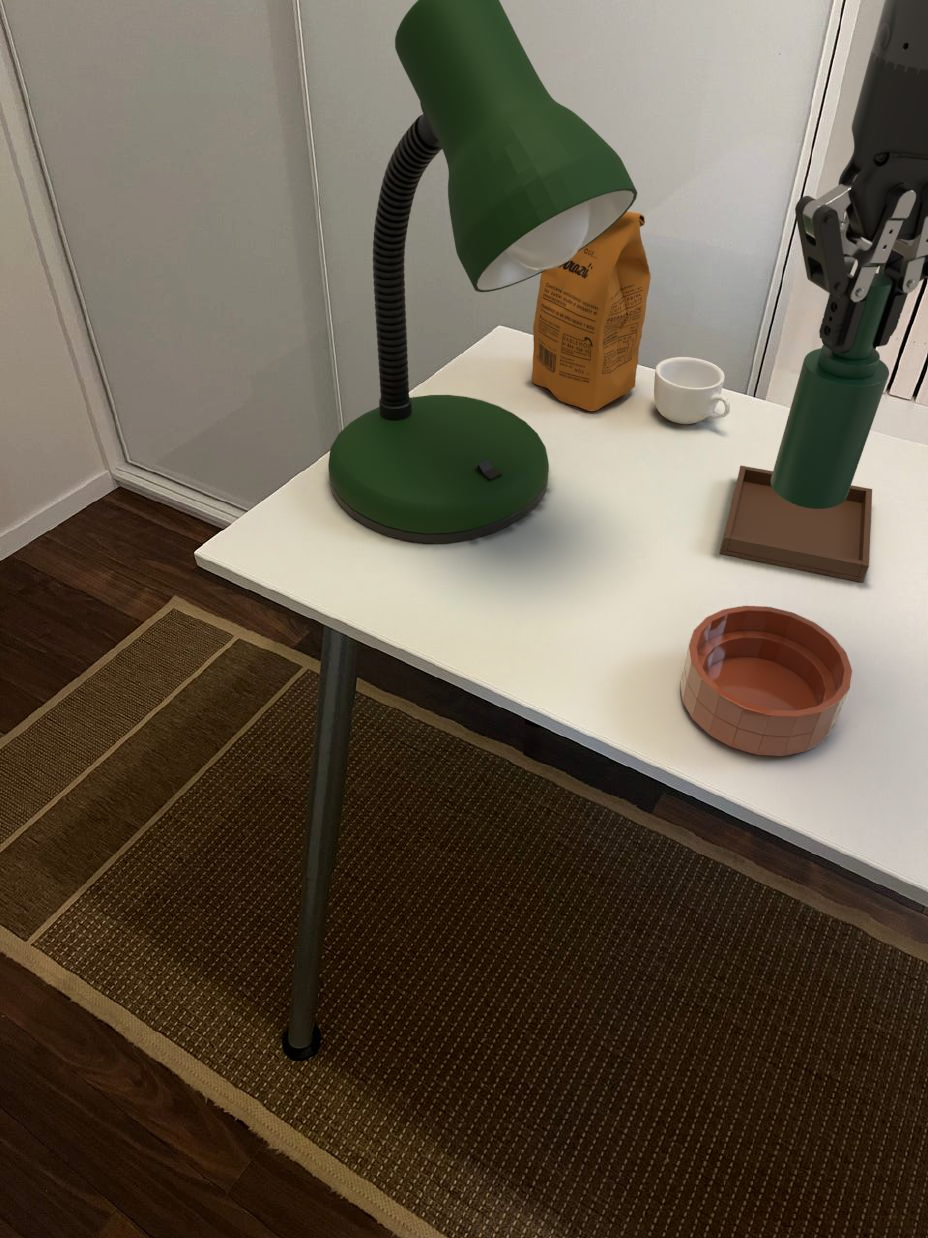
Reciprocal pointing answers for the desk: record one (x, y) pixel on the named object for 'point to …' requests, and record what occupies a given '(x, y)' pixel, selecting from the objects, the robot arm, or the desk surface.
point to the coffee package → (593, 318)
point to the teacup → (688, 390)
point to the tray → (798, 529)
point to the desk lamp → (470, 270)
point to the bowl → (765, 680)
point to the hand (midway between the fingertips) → (853, 343)
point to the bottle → (833, 413)
